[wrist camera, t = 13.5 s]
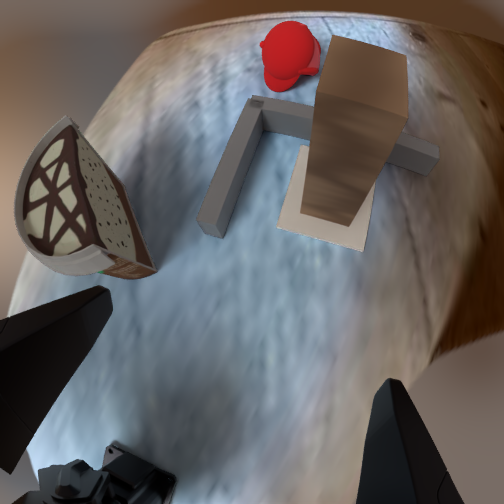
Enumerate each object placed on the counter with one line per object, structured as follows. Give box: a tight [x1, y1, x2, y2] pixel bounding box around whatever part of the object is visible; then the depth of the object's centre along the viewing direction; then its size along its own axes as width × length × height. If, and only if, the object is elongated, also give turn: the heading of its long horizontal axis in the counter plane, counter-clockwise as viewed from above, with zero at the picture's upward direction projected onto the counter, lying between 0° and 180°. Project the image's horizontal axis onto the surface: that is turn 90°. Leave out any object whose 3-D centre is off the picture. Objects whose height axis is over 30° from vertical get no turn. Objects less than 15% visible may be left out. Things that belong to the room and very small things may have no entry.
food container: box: [14, 115, 157, 280], centre depth 20 cm, size 12×6×10 cm, turn 28°
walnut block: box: [300, 35, 408, 227], centre depth 18 cm, size 4×5×13 cm
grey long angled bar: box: [196, 95, 439, 252], centre depth 23 cm, size 12×17×3 cm
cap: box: [260, 21, 321, 92], centre depth 26 cm, size 8×6×6 cm
